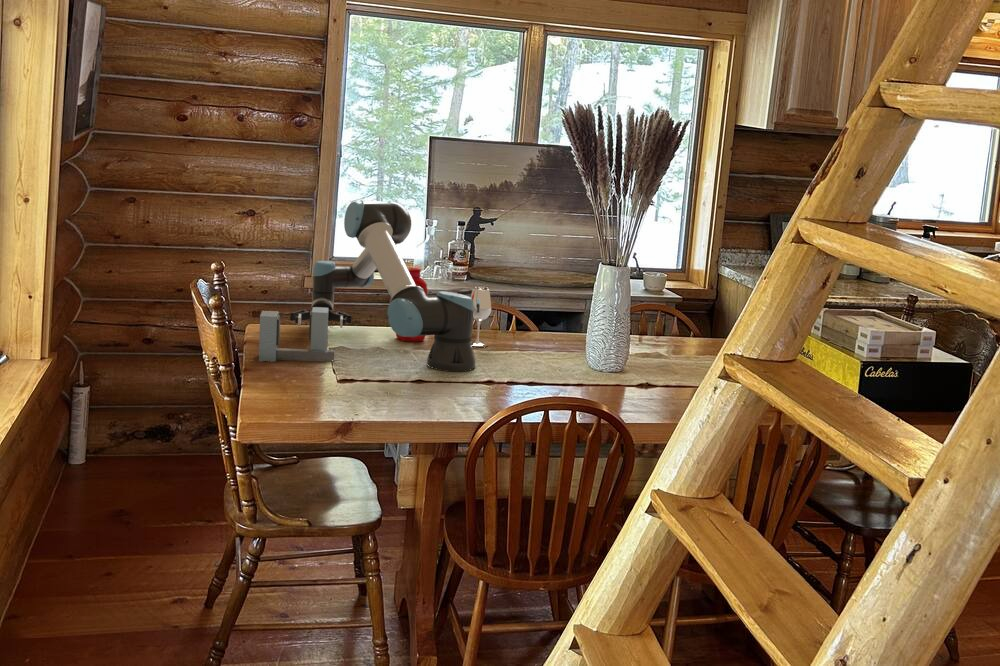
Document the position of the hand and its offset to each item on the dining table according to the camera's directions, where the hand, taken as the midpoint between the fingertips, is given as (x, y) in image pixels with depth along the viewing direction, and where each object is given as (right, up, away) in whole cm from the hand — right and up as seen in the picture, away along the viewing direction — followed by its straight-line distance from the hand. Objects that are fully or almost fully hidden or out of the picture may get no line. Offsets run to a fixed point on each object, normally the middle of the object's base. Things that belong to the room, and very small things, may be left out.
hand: (320, 322), depth 342 cm
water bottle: (+27, -6, +22) cm, 35 cm away
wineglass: (+51, -8, +21) cm, 55 cm away
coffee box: (+44, -4, +39) cm, 59 cm away
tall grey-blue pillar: (+1, -10, -8) cm, 12 cm away
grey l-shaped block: (-4, -12, -18) cm, 22 cm away
